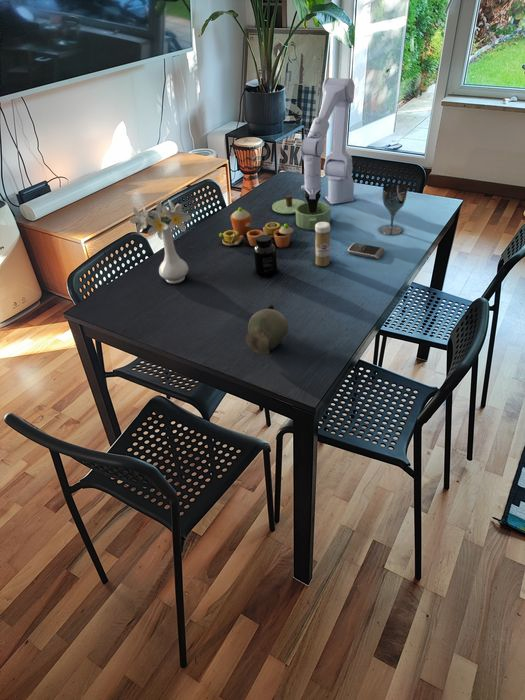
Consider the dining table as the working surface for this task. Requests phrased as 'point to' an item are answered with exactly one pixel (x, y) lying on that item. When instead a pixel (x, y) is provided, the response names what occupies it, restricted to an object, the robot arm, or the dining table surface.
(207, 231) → the dining table surface
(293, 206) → the pot lid
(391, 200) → the wine glass
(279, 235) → the toy tea set
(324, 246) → the sprinkles bottle
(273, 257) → the supplement bottle
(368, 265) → the dining table surface
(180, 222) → the flower vase
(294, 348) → the dining table surface
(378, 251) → the cell phone
